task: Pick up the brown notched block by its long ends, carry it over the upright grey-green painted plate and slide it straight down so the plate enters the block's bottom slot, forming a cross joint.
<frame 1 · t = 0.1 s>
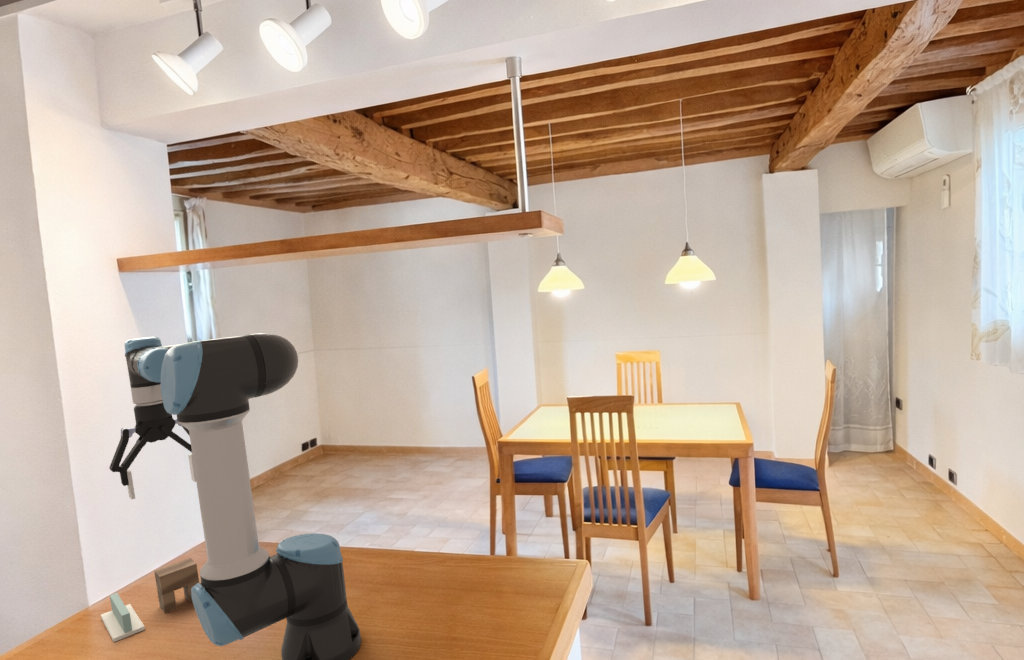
hand: (164, 489, 148), 28 cm above the table, fingers open, 13 cm apart
slot plate: (122, 623, 141), on the table
cup: (247, 586, 154), on the table
brown notched block: (180, 602, 148), on the table
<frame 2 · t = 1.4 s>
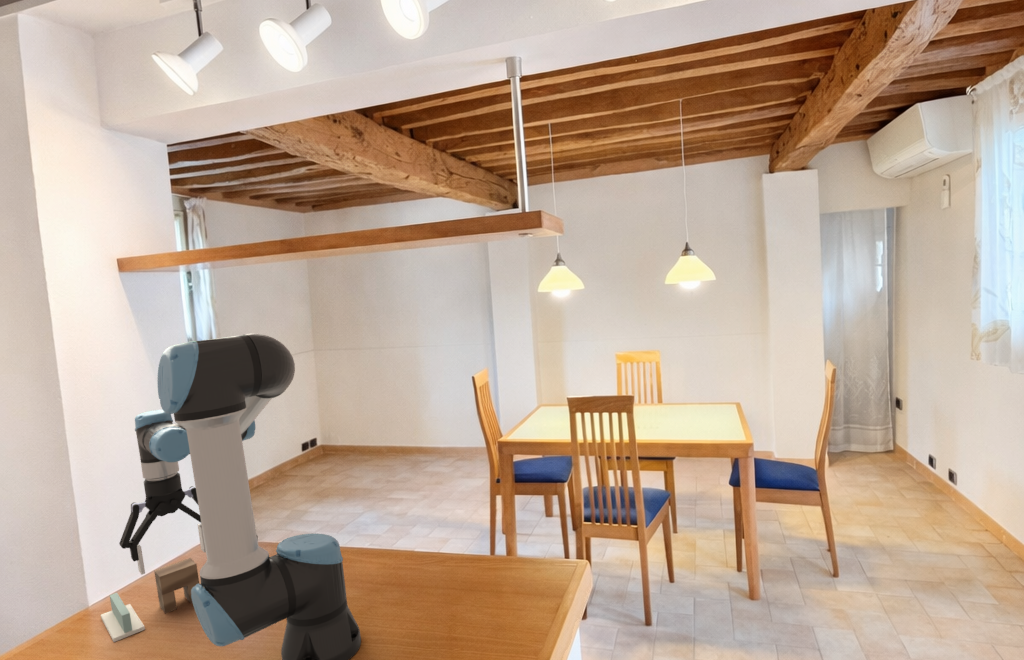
hand: (174, 561, 147), 10 cm above the table, fingers open, 13 cm apart
nothing on the table moved.
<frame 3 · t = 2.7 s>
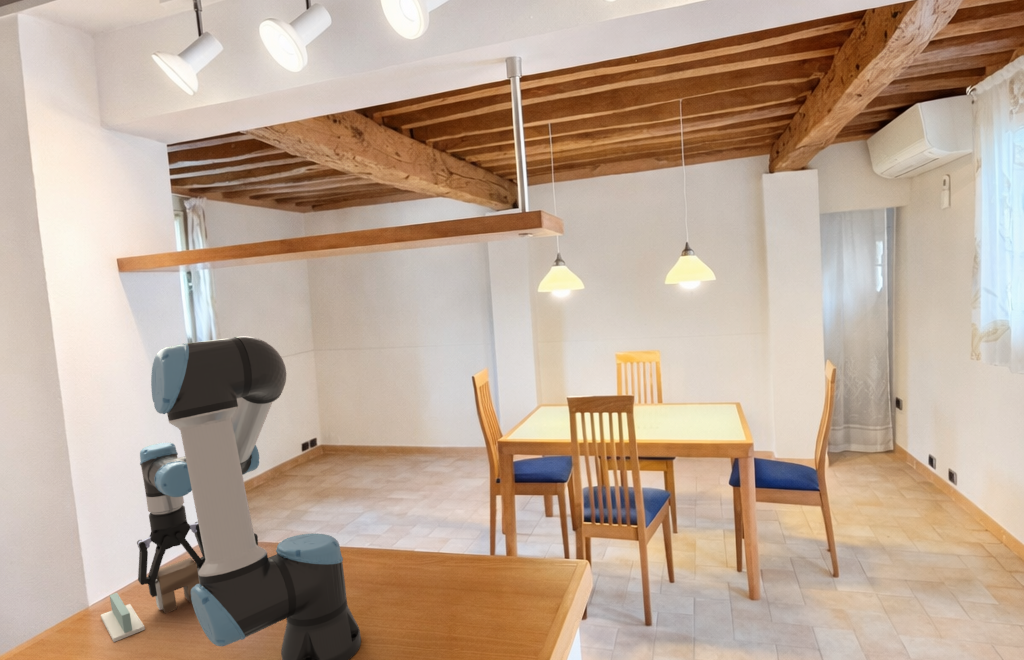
hand: (180, 599, 148), 1 cm above the table, fingers closed on brown notched block, 8 cm apart
brown notched block: (180, 602, 148), on the table, touching gripper
everything else where it was.
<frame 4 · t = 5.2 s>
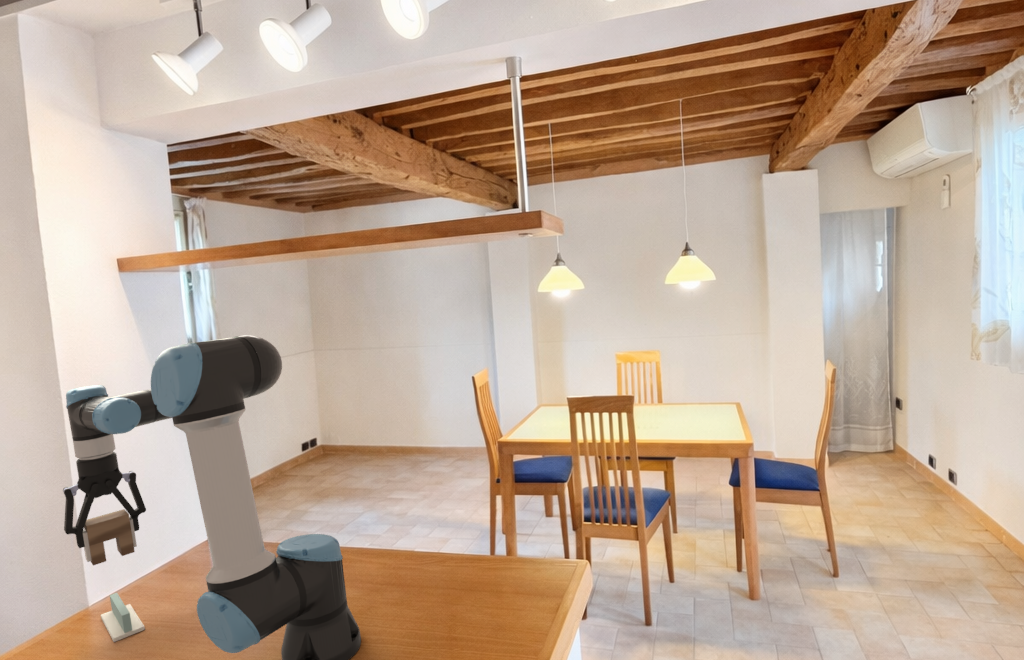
hand: (111, 552, 139), 17 cm above the table, fingers closed on brown notched block, 8 cm apart
brown notched block: (112, 555, 140), point 16 cm above the table, touching gripper
everything else where it was.
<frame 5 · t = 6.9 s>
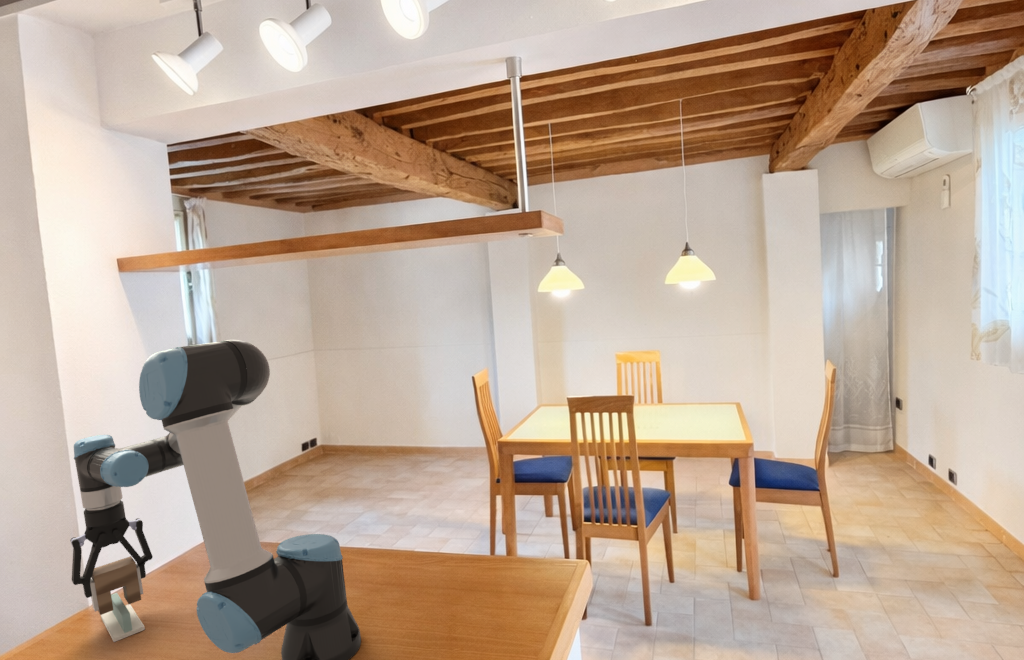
hand: (118, 600, 140), 6 cm above the table, fingers closed on brown notched block, 8 cm apart
brown notched block: (119, 603, 140), point 5 cm above the table, touching gripper
everything else where it was.
when the fingers open (3 cm above the table, at t = 7.9 s): brown notched block drops 1 cm, resting on slot plate.
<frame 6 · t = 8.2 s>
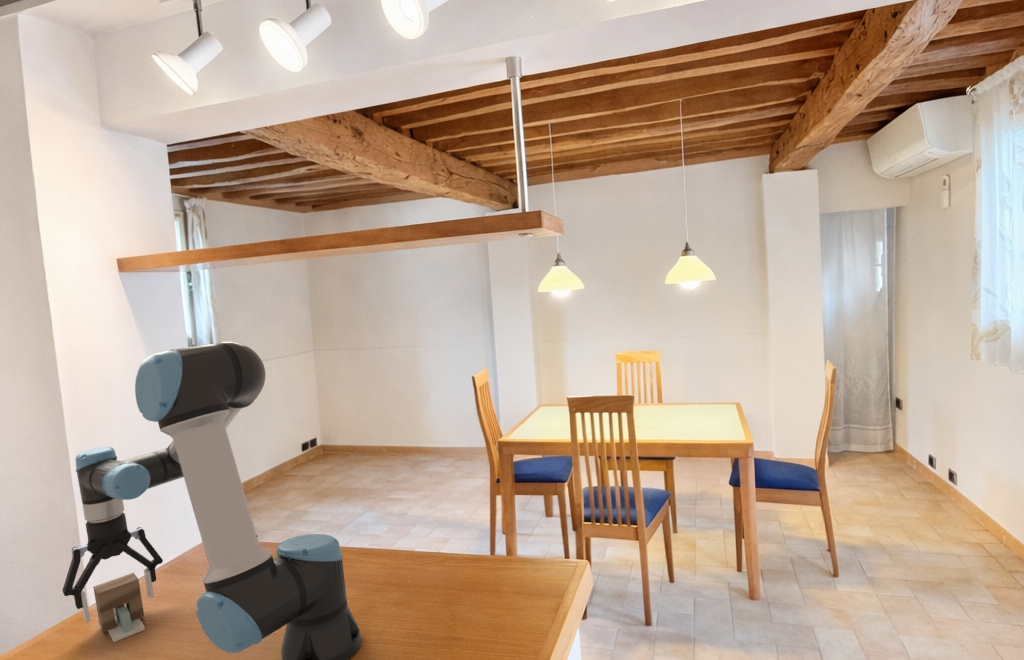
hand: (119, 607, 140), 4 cm above the table, fingers open, 12 cm apart
brown notched block: (122, 620, 141), point 1 cm above the table, touching slot plate
everything else where it was.
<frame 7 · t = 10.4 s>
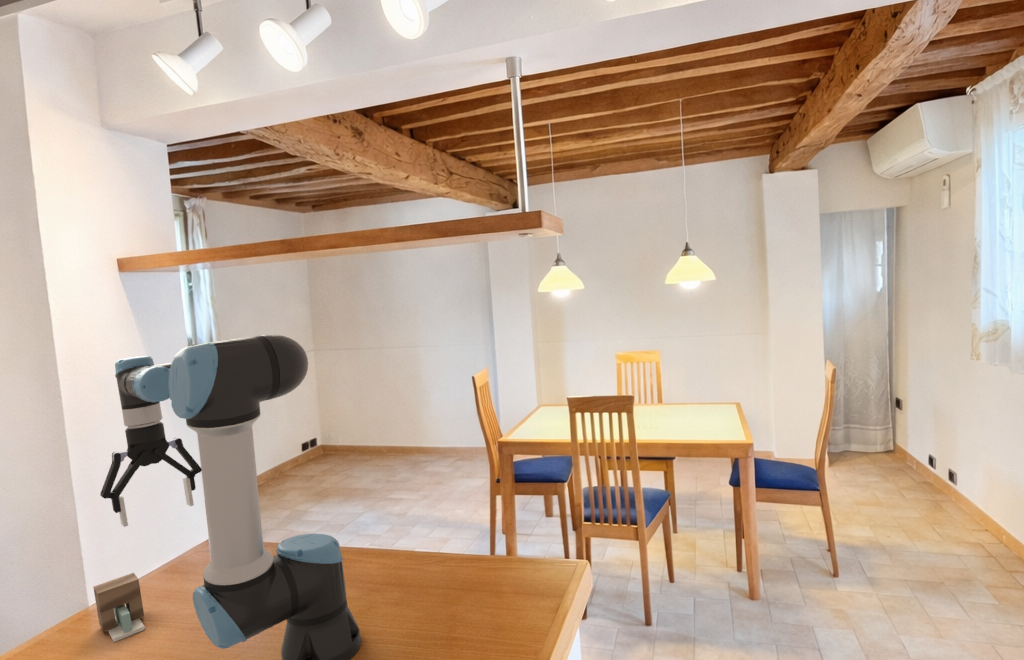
hand: (158, 514, 141), 24 cm above the table, fingers open, 13 cm apart
nothing on the table moved.
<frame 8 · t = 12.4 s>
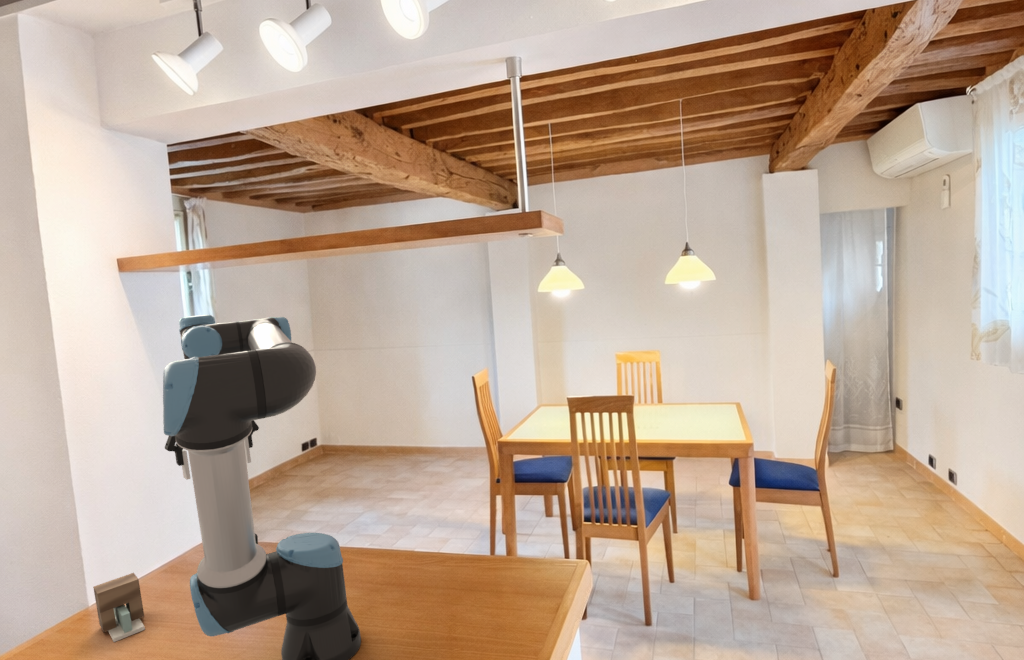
hand: (218, 469, 145), 32 cm above the table, fingers open, 13 cm apart
nothing on the table moved.
at the end: brown notched block 0.0 cm off-centre on the slot plate, point 0.8 cm above the slot plate's base; brown notched block tilted 0°; the gripper is holding nothing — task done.
